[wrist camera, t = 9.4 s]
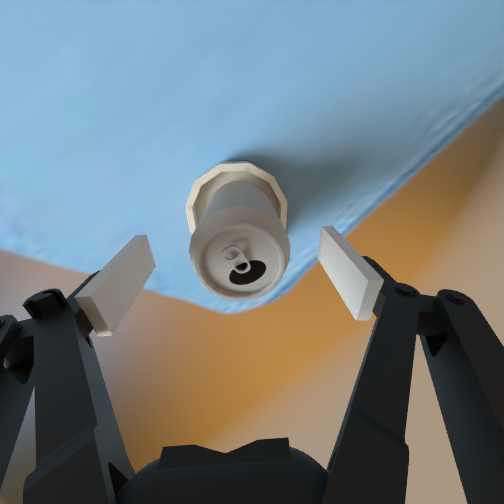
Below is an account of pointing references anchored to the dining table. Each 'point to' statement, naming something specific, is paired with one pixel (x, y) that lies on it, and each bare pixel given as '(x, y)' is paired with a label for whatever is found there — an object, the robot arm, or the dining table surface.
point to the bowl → (227, 174)
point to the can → (239, 243)
